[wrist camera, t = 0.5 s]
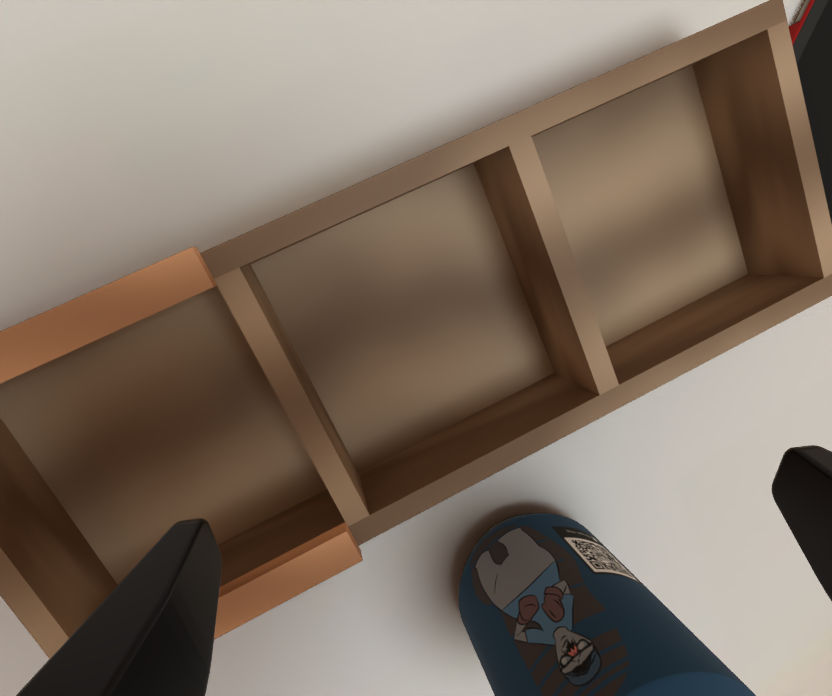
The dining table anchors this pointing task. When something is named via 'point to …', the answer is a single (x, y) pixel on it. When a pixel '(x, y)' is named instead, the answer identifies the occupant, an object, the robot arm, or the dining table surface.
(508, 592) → the soda can
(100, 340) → the rack
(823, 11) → the cell phone
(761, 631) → the dining table surface
